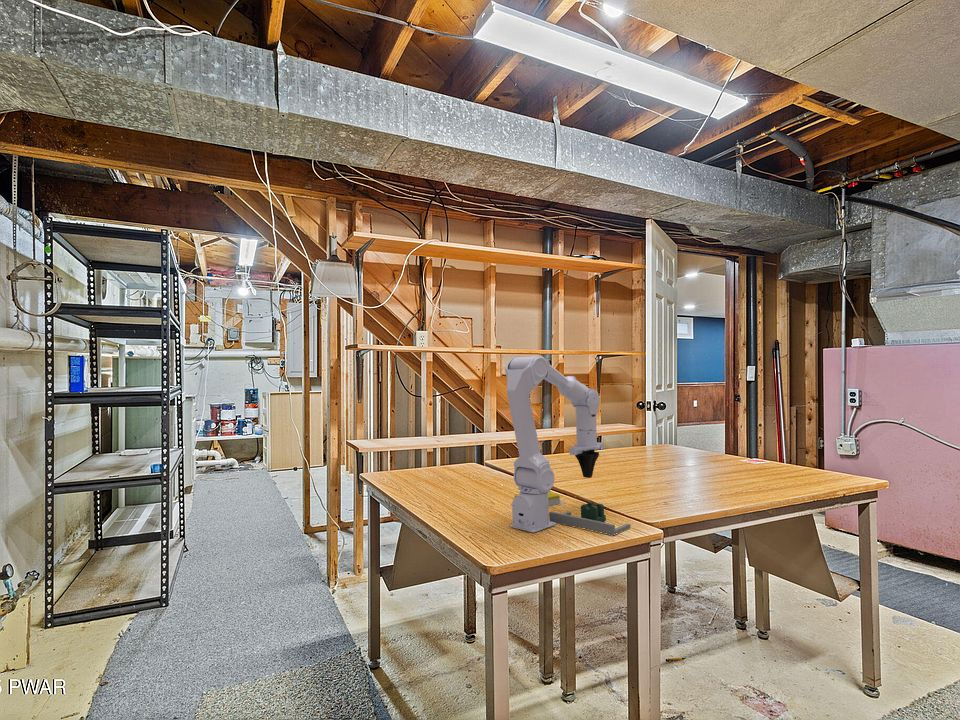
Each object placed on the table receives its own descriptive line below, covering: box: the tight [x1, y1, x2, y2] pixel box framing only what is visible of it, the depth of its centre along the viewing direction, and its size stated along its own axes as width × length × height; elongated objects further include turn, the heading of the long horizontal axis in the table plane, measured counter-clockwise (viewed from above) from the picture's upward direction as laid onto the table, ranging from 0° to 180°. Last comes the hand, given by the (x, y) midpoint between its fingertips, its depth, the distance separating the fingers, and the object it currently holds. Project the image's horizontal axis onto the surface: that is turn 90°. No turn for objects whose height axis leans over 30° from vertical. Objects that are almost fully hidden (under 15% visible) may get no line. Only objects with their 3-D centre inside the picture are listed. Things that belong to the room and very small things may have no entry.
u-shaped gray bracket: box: [549, 511, 631, 536], centre depth 133 cm, size 8×19×2 cm, turn 45°
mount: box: [580, 501, 607, 522], centre depth 134 cm, size 11×4×5 cm, turn 137°
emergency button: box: [510, 491, 566, 507], centre depth 156 cm, size 9×4×15 cm
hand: (587, 477), depth 147 cm, fingers closed
